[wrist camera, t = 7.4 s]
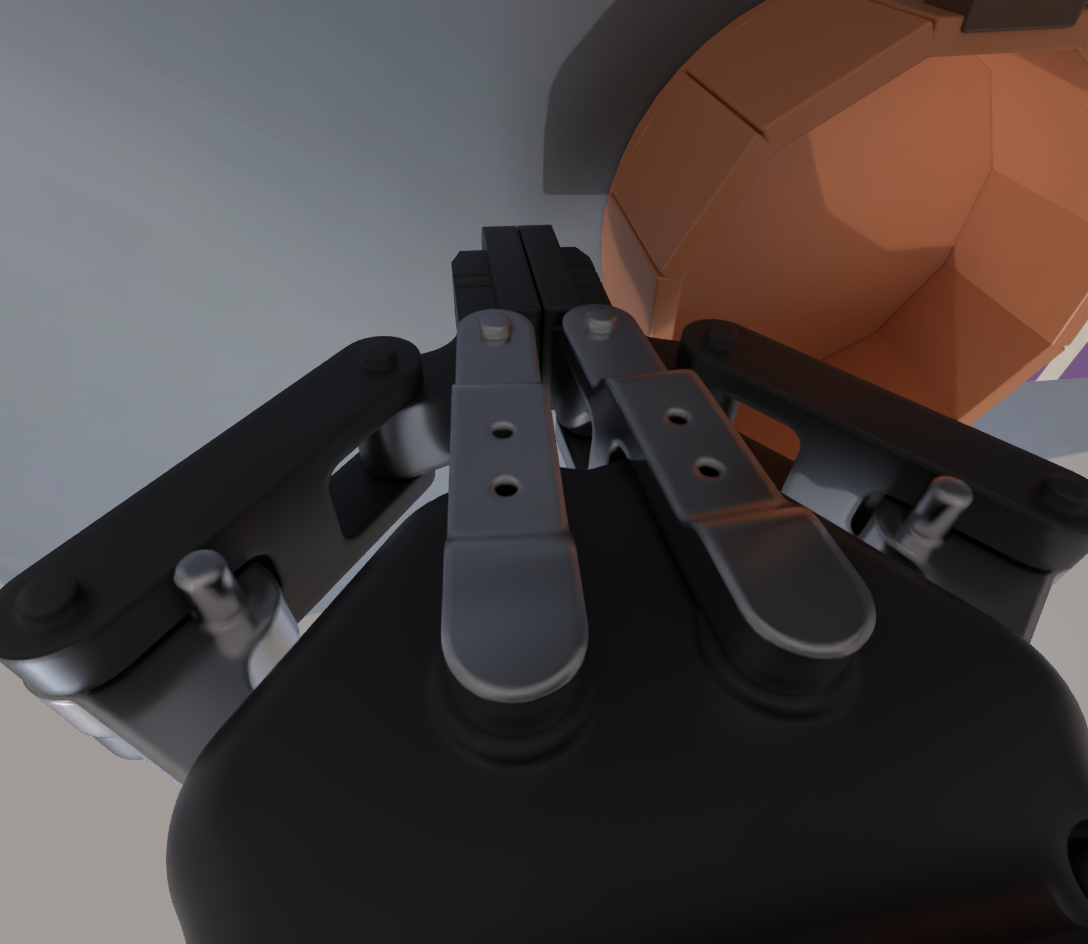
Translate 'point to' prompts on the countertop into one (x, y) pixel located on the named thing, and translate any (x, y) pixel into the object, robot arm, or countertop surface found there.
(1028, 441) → the countertop surface
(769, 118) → the pan
